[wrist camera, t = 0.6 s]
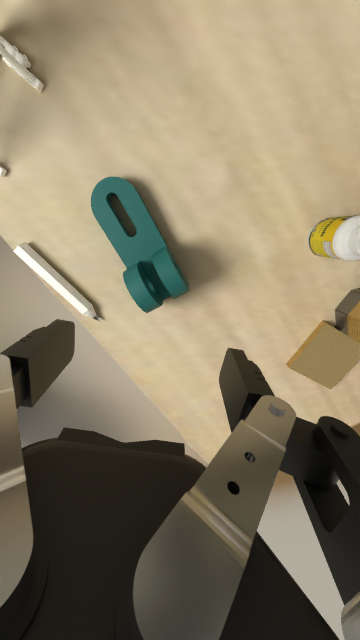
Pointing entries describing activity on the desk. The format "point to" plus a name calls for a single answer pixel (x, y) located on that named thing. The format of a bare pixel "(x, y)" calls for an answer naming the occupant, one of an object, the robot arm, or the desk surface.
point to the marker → (55, 280)
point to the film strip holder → (17, 70)
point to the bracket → (138, 245)
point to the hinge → (332, 345)
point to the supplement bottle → (336, 238)
